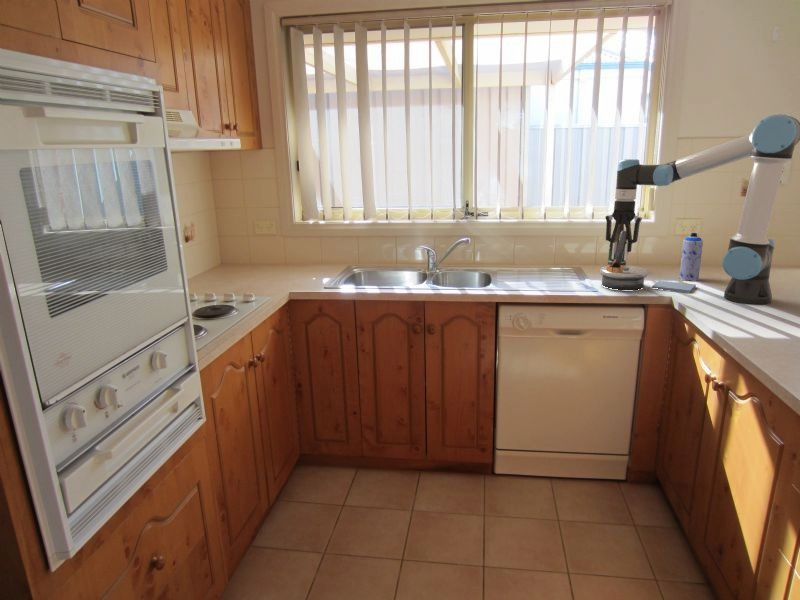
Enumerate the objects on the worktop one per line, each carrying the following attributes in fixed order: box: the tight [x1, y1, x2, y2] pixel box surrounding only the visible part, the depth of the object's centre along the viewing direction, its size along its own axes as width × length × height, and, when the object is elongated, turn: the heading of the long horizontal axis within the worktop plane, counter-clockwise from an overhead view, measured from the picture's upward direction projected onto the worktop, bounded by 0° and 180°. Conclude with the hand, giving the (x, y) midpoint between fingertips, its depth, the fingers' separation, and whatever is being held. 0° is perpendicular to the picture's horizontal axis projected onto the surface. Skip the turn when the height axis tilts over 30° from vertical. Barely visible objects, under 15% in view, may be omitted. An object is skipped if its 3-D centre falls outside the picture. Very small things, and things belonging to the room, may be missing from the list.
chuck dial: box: [599, 264, 649, 279], centre depth 229 cm, size 18×18×4 cm
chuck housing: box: [601, 275, 645, 290], centre depth 230 cm, size 16×16×5 cm
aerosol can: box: [678, 232, 704, 281], centre depth 240 cm, size 8×8×20 cm
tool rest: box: [651, 280, 697, 294], centre depth 227 cm, size 14×12×1 cm
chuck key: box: [612, 230, 628, 267], centre depth 223 cm, size 3×3×16 cm
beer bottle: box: [607, 224, 628, 266], centre depth 258 cm, size 8×8×24 cm
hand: (619, 259), depth 224 cm, fingers closed on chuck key, 4 cm apart
